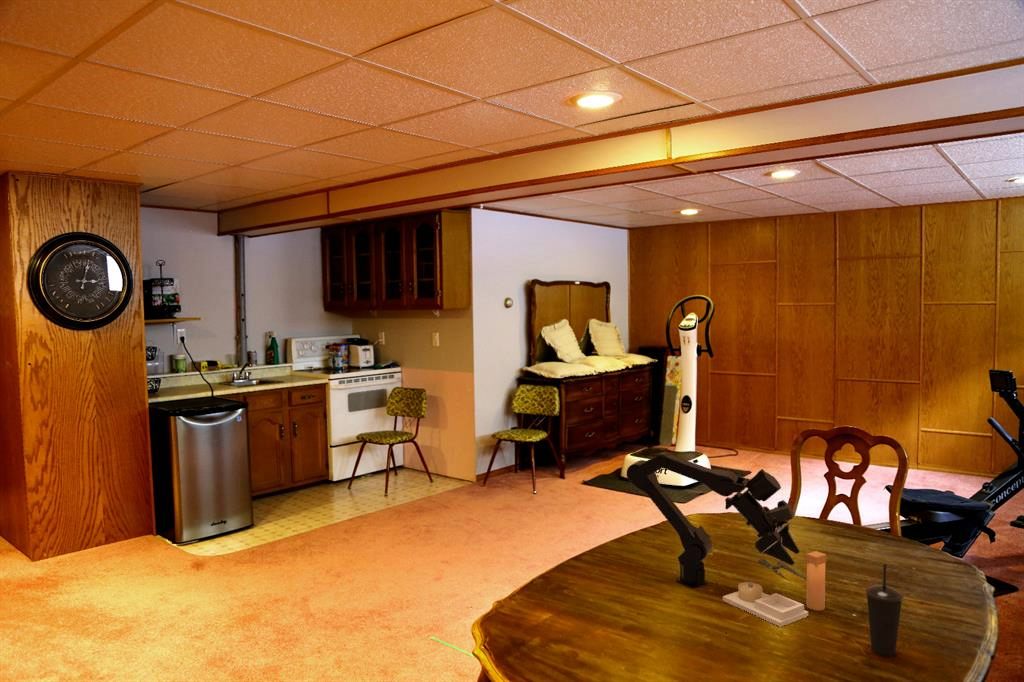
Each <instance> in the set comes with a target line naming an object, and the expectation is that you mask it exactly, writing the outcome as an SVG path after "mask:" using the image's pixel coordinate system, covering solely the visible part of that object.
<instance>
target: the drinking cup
mask: <svg viewBox="0 0 1024 682" xmlns="http://www.w3.org/2000/svg"><path fill="white" fill-rule="evenodd" d="M887 569H888V568H887V564H883V565H882V584H875V585H870V586H866V588H865V594H866V600H867V611H868V612H867V613H868V614H867V615H868V623H869V624H868V625H869V636H870V637H869V638H870V648H871V650H872V652H874V653H875V654H877V655H880V656H884V657H893V656H894V655H896V649H897V642H898V633H899V627H900V625H899V624H900V618H901V610H902V603H903V600H904V594H903V592H901V591H900V590H898V589H895V588H893V587H891V586H888V585H887Z"/></svg>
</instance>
